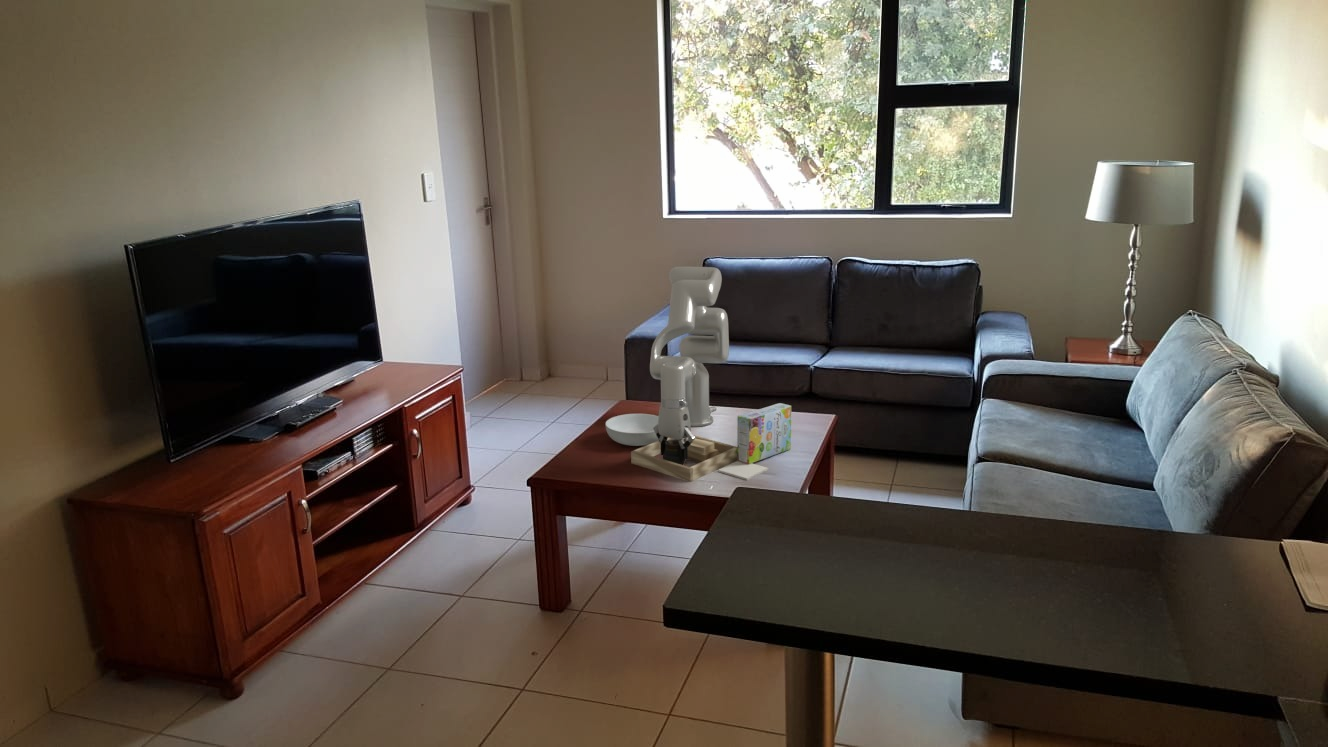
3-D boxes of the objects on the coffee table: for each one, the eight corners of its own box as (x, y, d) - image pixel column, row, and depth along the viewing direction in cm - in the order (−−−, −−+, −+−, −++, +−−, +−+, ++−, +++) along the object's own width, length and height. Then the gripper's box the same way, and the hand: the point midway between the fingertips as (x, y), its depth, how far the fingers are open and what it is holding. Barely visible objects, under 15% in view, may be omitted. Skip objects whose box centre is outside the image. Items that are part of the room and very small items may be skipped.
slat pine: (688, 441, 295) (688, 436, 295) (714, 448, 289) (714, 442, 289) (678, 447, 290) (678, 441, 290) (703, 453, 285) (703, 448, 284)
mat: (739, 461, 286) (739, 459, 286) (768, 469, 279) (768, 467, 279) (718, 471, 278) (718, 469, 278) (746, 480, 271) (746, 478, 271)
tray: (681, 443, 304) (681, 431, 303) (739, 459, 288) (739, 447, 287) (631, 463, 286) (631, 451, 285) (690, 481, 270) (690, 469, 269)
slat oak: (690, 447, 296) (690, 441, 296) (718, 455, 288) (718, 449, 288) (676, 452, 292) (676, 446, 291) (704, 461, 284) (704, 455, 283)
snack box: (777, 445, 299) (779, 402, 296) (791, 449, 296) (793, 405, 292) (735, 460, 285) (736, 414, 281) (749, 465, 281) (750, 418, 278)
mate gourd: (690, 465, 283) (690, 435, 281) (674, 472, 278) (674, 441, 275) (673, 460, 288) (673, 430, 285) (657, 466, 283) (657, 436, 280)
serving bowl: (641, 456, 292) (641, 436, 290) (593, 444, 304) (592, 425, 302) (679, 439, 308) (679, 420, 306) (632, 428, 320) (631, 409, 318)
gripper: (703, 404, 275) (703, 459, 279) (660, 394, 286) (661, 447, 290) (687, 410, 269) (687, 466, 274) (644, 400, 280) (645, 453, 285)
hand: (674, 456), depth 282 cm, fingers closed on mate gourd, 7 cm apart
